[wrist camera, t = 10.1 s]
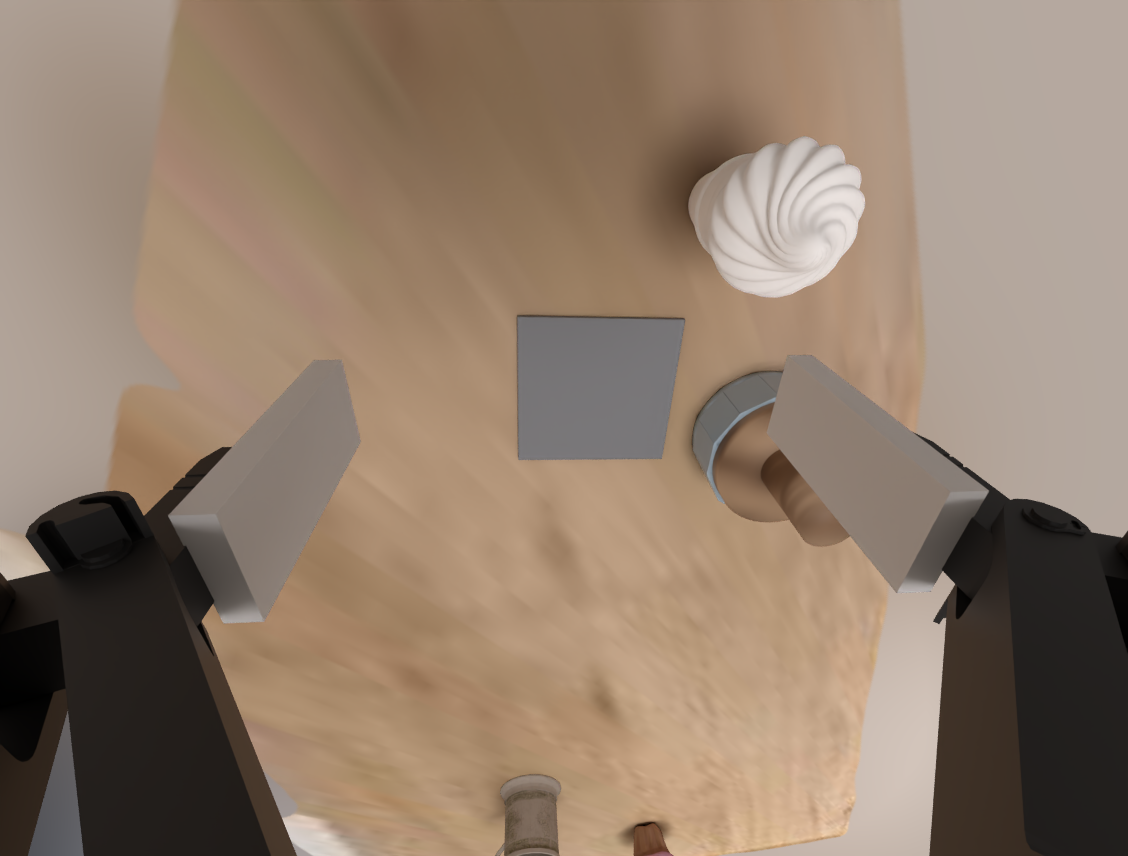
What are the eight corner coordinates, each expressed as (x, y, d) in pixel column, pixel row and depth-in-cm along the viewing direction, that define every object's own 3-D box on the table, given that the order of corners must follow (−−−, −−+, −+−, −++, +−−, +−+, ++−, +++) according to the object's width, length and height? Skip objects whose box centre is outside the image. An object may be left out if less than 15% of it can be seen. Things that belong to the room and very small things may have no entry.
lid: (727, 398, 40) (773, 455, 33) (867, 398, 41) (942, 454, 34) (701, 512, 46) (735, 583, 39) (823, 510, 47) (878, 578, 40)
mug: (529, 767, 77) (530, 865, 66) (573, 786, 81) (580, 881, 70) (469, 804, 81) (461, 900, 71) (513, 820, 85) (511, 913, 75)
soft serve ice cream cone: (716, 110, 34) (848, 88, 20) (793, 187, 37) (955, 215, 23) (639, 216, 37) (707, 260, 23) (716, 280, 40) (818, 353, 26)
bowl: (705, 370, 44) (724, 395, 40) (837, 371, 45) (870, 395, 41) (682, 482, 50) (697, 514, 46) (799, 481, 51) (824, 512, 47)
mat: (517, 315, 40) (517, 317, 40) (683, 318, 41) (685, 319, 41) (518, 457, 47) (518, 459, 47) (660, 456, 48) (661, 458, 48)
